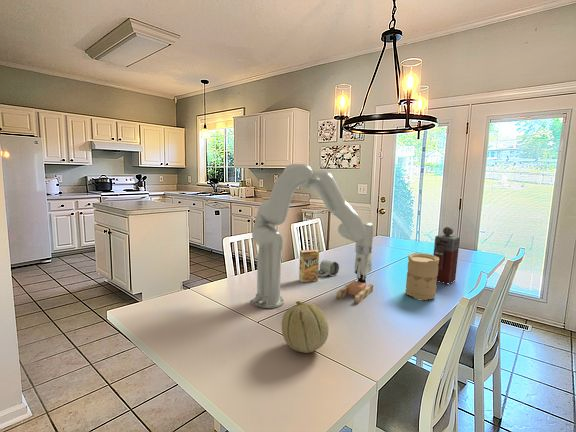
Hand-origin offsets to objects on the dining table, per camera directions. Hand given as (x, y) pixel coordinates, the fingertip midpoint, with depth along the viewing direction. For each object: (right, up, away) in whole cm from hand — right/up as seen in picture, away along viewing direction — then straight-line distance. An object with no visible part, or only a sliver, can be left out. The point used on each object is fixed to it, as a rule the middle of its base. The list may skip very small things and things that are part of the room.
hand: (361, 287), depth 152 cm
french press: (+45, 0, +15) cm, 47 cm away
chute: (-4, -2, -6) cm, 7 cm away
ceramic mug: (-13, +2, +20) cm, 24 cm away
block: (-3, -2, -4) cm, 5 cm away
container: (+25, -3, -5) cm, 26 cm away
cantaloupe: (-29, -9, -50) cm, 58 cm away
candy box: (-24, +1, +11) cm, 26 cm away
